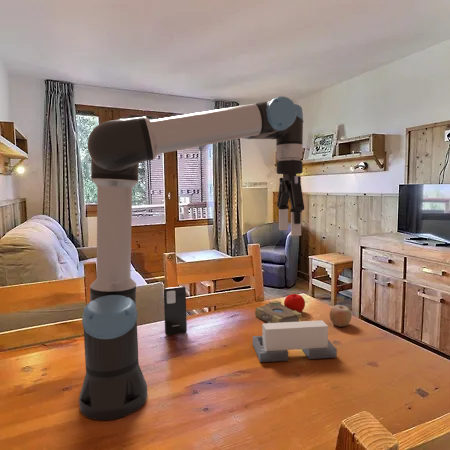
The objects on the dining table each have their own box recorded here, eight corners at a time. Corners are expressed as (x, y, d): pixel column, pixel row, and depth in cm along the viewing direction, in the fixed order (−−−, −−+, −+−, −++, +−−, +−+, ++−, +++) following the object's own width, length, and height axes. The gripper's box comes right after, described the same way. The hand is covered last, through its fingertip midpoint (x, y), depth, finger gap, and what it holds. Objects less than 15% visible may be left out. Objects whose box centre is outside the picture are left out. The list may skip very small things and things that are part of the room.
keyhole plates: (260, 362, 99) (260, 353, 99) (252, 344, 110) (252, 336, 110) (336, 357, 101) (336, 348, 101) (321, 339, 113) (321, 332, 112)
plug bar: (265, 358, 100) (265, 329, 99) (262, 351, 105) (262, 323, 104) (327, 354, 102) (328, 326, 101) (321, 347, 106) (322, 320, 105)
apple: (283, 316, 134) (283, 297, 133) (284, 309, 142) (283, 291, 141) (305, 317, 133) (305, 297, 132) (304, 310, 140) (304, 291, 140)
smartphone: (186, 332, 120) (185, 286, 119) (187, 333, 119) (185, 286, 118) (164, 335, 118) (163, 288, 117) (165, 336, 117) (163, 288, 116)
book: (302, 325, 126) (302, 311, 126) (277, 331, 121) (277, 317, 120) (277, 312, 139) (277, 300, 138) (253, 318, 134) (253, 305, 133)
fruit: (327, 320, 129) (328, 299, 128) (349, 321, 128) (349, 299, 127) (331, 329, 121) (331, 306, 120) (353, 329, 120) (354, 306, 119)
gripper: (317, 156, 92) (316, 237, 94) (290, 163, 116) (290, 227, 119) (288, 156, 91) (288, 238, 93) (267, 163, 116) (267, 228, 118)
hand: (289, 232), depth 106 cm, fingers open, 13 cm apart
